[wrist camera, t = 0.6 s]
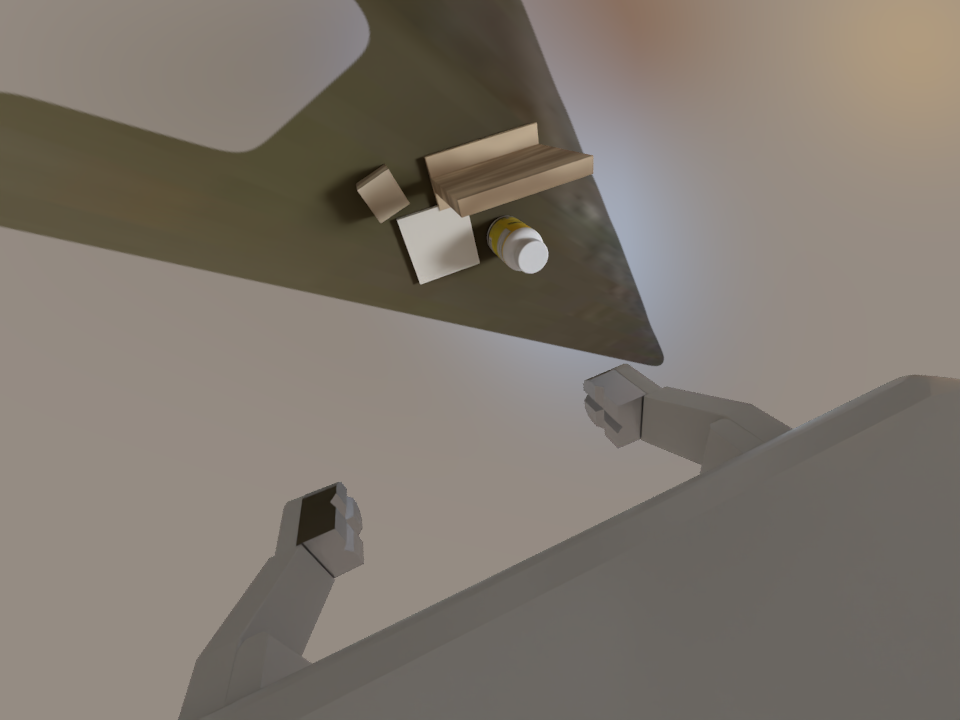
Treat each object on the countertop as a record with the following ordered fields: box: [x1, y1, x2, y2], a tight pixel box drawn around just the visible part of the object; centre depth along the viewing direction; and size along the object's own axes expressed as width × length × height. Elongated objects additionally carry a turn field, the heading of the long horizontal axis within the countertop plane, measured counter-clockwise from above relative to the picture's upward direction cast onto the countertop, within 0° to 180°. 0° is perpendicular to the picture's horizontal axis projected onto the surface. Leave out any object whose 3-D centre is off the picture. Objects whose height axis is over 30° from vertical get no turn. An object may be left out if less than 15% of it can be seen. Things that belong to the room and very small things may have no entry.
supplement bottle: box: [487, 216, 548, 273], centre depth 45 cm, size 5×5×10 cm
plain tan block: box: [356, 164, 410, 223], centre depth 39 cm, size 4×4×4 cm
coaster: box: [396, 205, 480, 284], centre depth 46 cm, size 9×9×1 cm
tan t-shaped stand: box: [424, 122, 593, 218], centre depth 38 cm, size 6×14×13 cm, turn 103°
